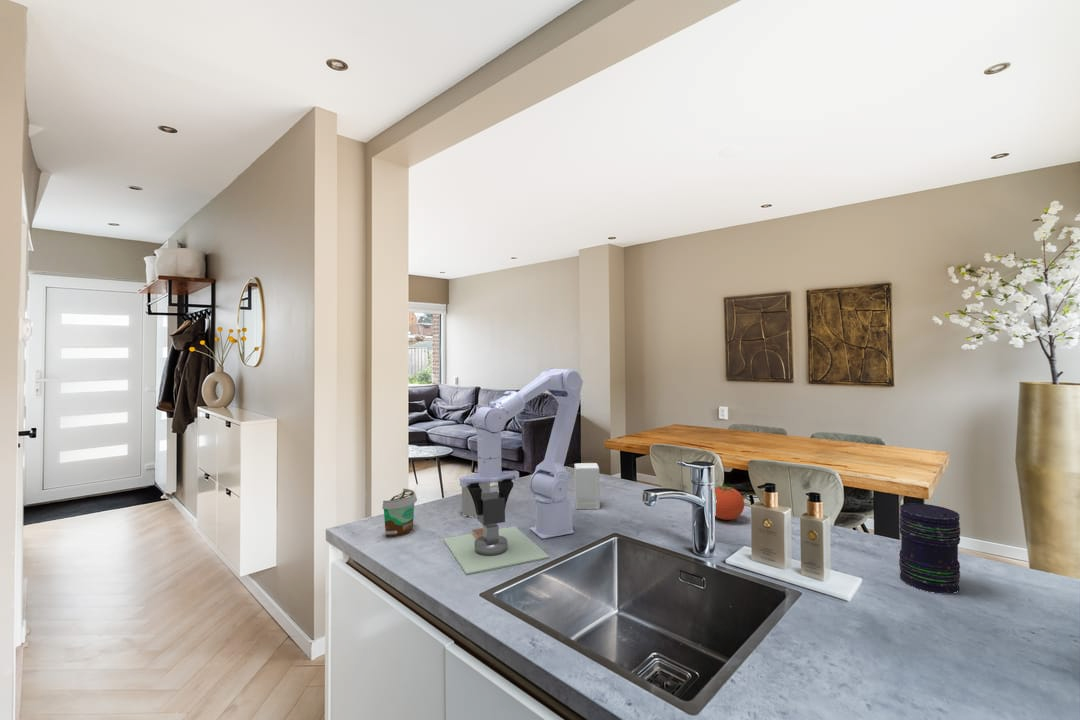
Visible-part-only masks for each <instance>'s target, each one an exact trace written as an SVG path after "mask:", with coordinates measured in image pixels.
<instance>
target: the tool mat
mask: <svg viewBox="0 0 1080 720" xmlns="http://www.w3.org/2000/svg"><path fill="white" fill-rule="evenodd" d="M499 536H503V537H505V538H506V539H507V545H508V549H507V551H506V552H505V553H503V554H500V555H496V556H482V555H479V554H477V553H476V552H475V543H474V542H475V540H476V538H475V537H474V536H473V535H472V533H468V534H463V535H457V536H452V537H450V536H449V537H444V538H443V539H442V540H443V542H444V543H445V545H446V547H447V548H448V550H449V551H450V552H451V554H452V555H453V557H454V558H455V560H456V562H457V563H458V564H459V566H460V568H461V569H462V571H463V572H464V573H465V575H466V576H467V575H473V574H479V573H483V572H488V571H489V572H490V571H494V570H497V569H503V568H507V567H513V566H517V565H523V564H528V563H532V562H537V561H541V560H546V559H550V555H548V554H547V553H546V552H545V551H544V550H543V549H542V548H541V547H539V546H538V545H537V544H536V543H535V542H534V541H533V540H531V538H529V537H528V536H527V535H526V534H525V533H524V532H523V531H521V530H520V529H519V528H518V527H517V526H516V525H514V526H509V527H504V528H499Z"/></svg>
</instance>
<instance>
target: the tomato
mask: <svg viewBox="0 0 1080 720" xmlns="http://www.w3.org/2000/svg"><path fill="white" fill-rule="evenodd" d="M714 488H715V493H716V500H717V503H716V517H715V518H717V519H720V520H723V521H729V520H733V519H734V520H735V519H736V518H738V517H740V515H742V513H743V511H744V509H745V500H744V497H743V496H742V494H741V493H740V492H739V491H738V490H737V489H736V488H735V487H729V486H728V485H726V483H724V484H723V486H721V485H718V486H714Z"/></svg>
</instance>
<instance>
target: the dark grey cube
mask: <svg viewBox="0 0 1080 720" xmlns="http://www.w3.org/2000/svg"><path fill="white" fill-rule="evenodd" d="M476 519H477V520H478V522H480V524H481V525H482V527H483V526H485V525H491V524H497V525H498V524H502V523H506V507H505V497H504V496H502V495H501V494H500V493H499V491H492V492H491V491H490V493H483V494H481V515H477V517H476Z"/></svg>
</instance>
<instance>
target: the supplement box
mask: <svg viewBox="0 0 1080 720" xmlns="http://www.w3.org/2000/svg"><path fill="white" fill-rule="evenodd" d="M573 466H574V469H573V471H574V473H573V474H574V478H573V479H574V504H575V505H574V506H575V508H576V509H575V510H600V508H601V505H600V504H601V501H600V499H601V498H600V493H601V492H600V467H599V464H598V463H596V462H583V463H582V462H581V463H574V465H573Z"/></svg>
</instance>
